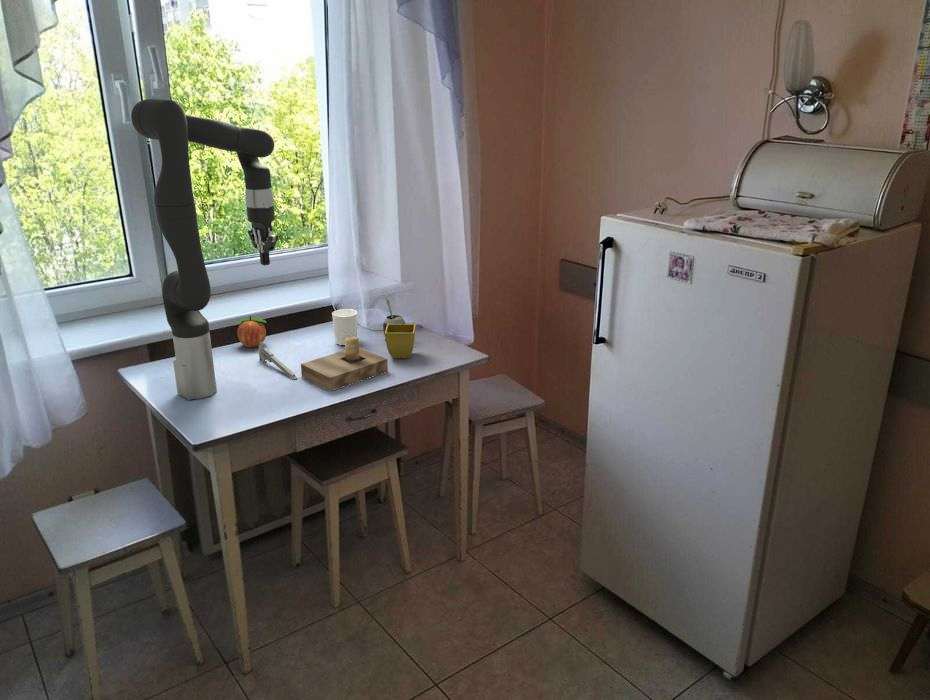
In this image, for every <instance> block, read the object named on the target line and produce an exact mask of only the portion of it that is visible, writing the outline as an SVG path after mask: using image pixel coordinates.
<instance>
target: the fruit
mask: <svg viewBox="0 0 930 700" xmlns="http://www.w3.org/2000/svg"><path fill="white" fill-rule="evenodd" d="M238 323H240V324H239V325H238V327H237V333H236V334H237V338H238V341H239V342H240V343H241V344H242V345H243V346H245V347H247V348H258V347H259V345H260V342H263V343H265V339H266V335H267V330H266V327H265V325H264V323H267V321H266V320H264V319H262V318H258V317H253V318H252V316H251V315H249V318H247V317H245V318H241V319H239V320H238V321H236V322H235V323H234V324H238Z"/></svg>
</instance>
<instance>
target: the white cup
mask: <svg viewBox="0 0 930 700" xmlns="http://www.w3.org/2000/svg"><path fill="white" fill-rule="evenodd" d="M331 315H332V316H331V317H332V325H333V327H332V328H333V333H334V339H335V344H336V343H337V344H339V345H338V346H340V345H345V338H347V337H358V311H357V310H355V309H352V308H341V309H340V308H339V309H337V310H334V311H332V312H331ZM337 344H336V345H337Z"/></svg>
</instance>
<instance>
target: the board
mask: <svg viewBox="0 0 930 700" xmlns="http://www.w3.org/2000/svg"><path fill="white" fill-rule="evenodd" d="M359 354H360V361H358V362H355V363H352V364H350V363H348V362H346V359H345V357H346V356H345V350H342V351H339V352H336V353H335V352H334V353H332V354H329V355H325V356H322V357H318V358H315V359H313V360H309V361H306V362H303V363H300V371H301V372H300V373H301V377H302V378H303V377H304V378H303V379H305V380H307V381H309V380H310V381H309V382H311V383H313V382H314V383H313V384H315V383H316V384H315V385H317V384H318V385H317V386H319V385H320V386H319V387H321V386H322V387H321V388H323V387H324V388H323V389H325V388H326V389H325V390H327V389H328V390H327V391H329V392H333V391H335V390H334V389H336V390H338V388H339V389H341V387H342V388H344V387H343V386H345V387H347V385H348V386H350V385H349V384H351V385H353V384H352V383H354V384H356V383H355V382H357V383H359V382H358V381H360V382H361V380H363V381H366V380H368V379H370V378H369V377H371V378H373V377H372V376H374V377H376V376H375V375H377V376H380V375H382V374H381V373H383V374H385V373H384V372H386V373H388V371H389V368H388V367H389V365H388V362H389V361H388V358H386V357H384V356H381V355H379V354H377V353H374V352H372V351H369V350H367V349H364V348H362V347H361V346H359ZM379 374H380V375H379ZM367 378H368V379H367ZM332 390H333V391H332Z"/></svg>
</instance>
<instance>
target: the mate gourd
mask: <svg viewBox="0 0 930 700" xmlns="http://www.w3.org/2000/svg"><path fill="white" fill-rule="evenodd" d="M381 295H382V296H383V297H384V298H385V301H386V304H387V307H388V310H389V311H388V312H389V315H387V316H386V317H385V318H384V320H383V324H382V328H383V329H382V330H383V335H384V336H385V331H386V327H387V324H406V322H405V319H404V317H403V316H402V315H400V314H399V315H398V314H393V312H392V309H391V305H390V304H391V303H390V300H389V298H388V297H387V296H386V295H385V293H384V292H381ZM384 341H385V342H386V338H385V339H384Z"/></svg>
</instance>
